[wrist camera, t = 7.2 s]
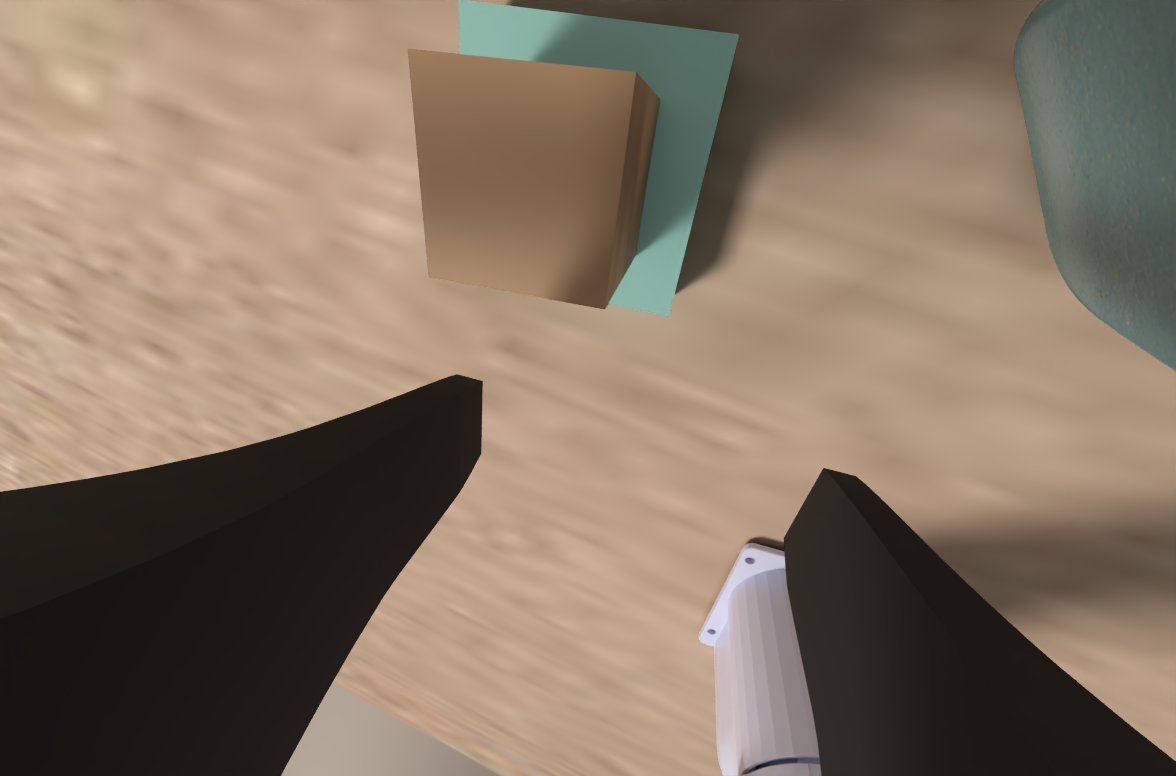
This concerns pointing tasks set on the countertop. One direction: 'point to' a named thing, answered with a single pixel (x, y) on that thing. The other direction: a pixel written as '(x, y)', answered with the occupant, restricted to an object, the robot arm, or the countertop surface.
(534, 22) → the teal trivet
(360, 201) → the countertop surface
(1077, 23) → the flower pot
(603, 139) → the walnut block
